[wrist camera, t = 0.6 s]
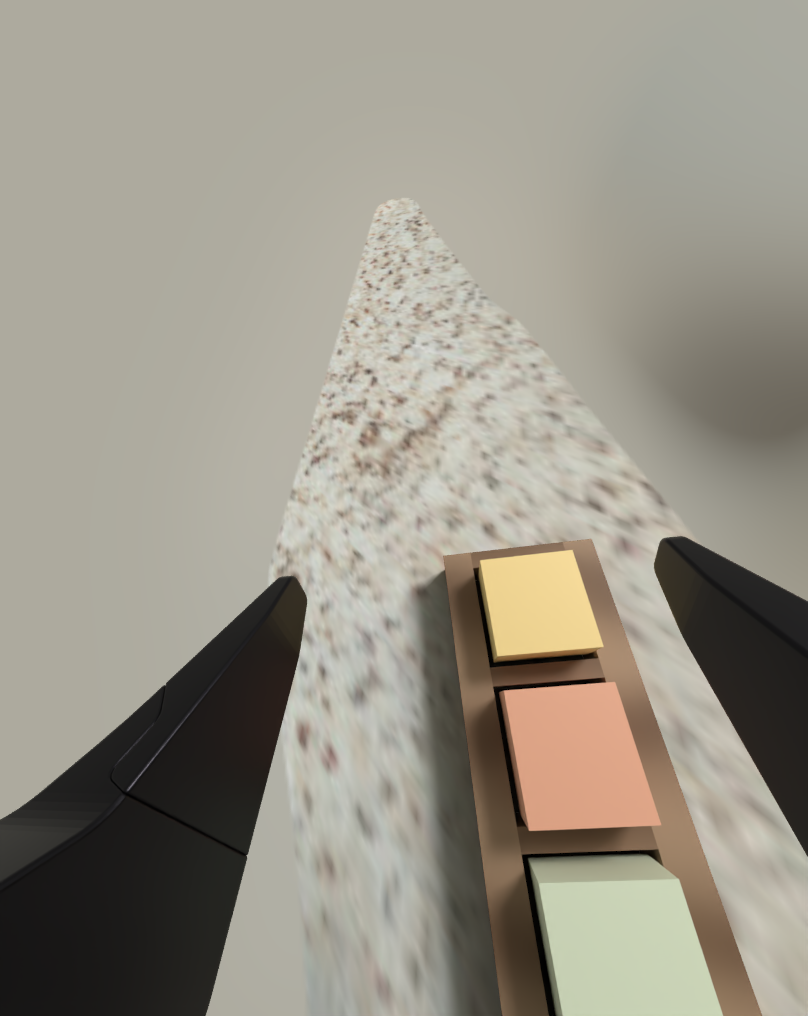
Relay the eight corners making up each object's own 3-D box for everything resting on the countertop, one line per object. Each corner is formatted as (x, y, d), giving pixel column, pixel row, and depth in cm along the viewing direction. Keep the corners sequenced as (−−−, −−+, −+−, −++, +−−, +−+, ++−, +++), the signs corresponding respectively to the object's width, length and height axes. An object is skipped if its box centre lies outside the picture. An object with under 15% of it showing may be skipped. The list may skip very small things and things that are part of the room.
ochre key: (586, 654, 19) (603, 647, 17) (493, 662, 20) (497, 656, 18) (560, 566, 22) (572, 549, 20) (478, 575, 22) (479, 560, 20)
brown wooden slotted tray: (747, 1057, 14) (800, 1123, 11) (507, 1054, 14) (514, 1114, 12) (579, 554, 24) (591, 538, 22) (445, 569, 25) (443, 555, 23)
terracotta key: (633, 808, 16) (661, 825, 14) (520, 814, 17) (529, 830, 14) (596, 685, 19) (615, 681, 16) (498, 692, 19) (503, 690, 17)
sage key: (701, 1039, 13) (754, 1113, 11) (559, 1038, 13) (579, 1108, 11) (646, 853, 15) (678, 879, 13) (527, 857, 16) (538, 883, 14)
